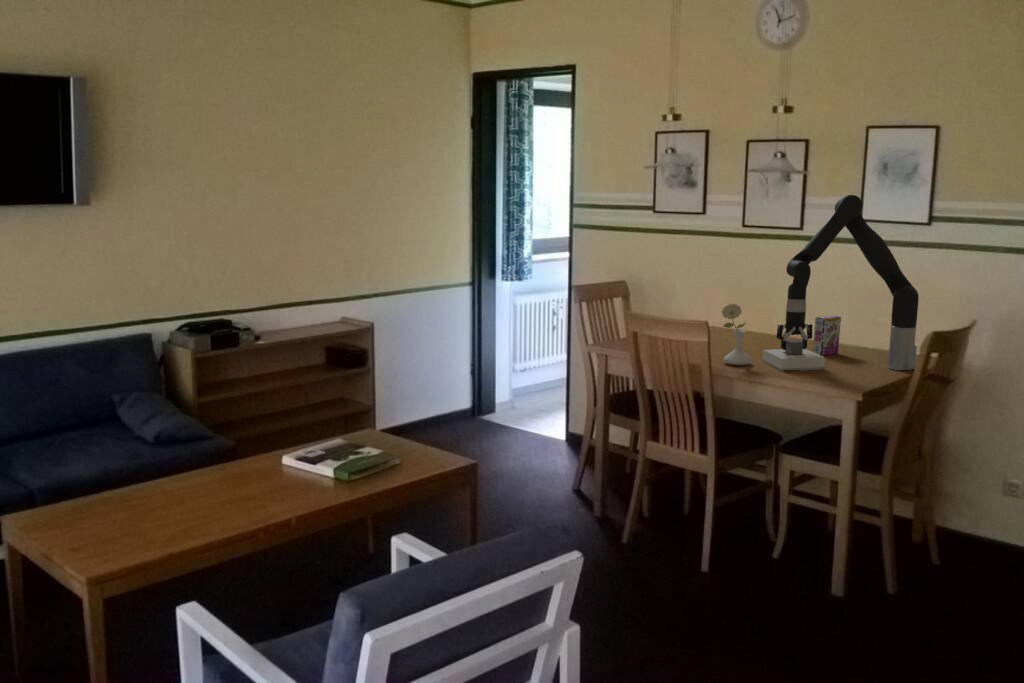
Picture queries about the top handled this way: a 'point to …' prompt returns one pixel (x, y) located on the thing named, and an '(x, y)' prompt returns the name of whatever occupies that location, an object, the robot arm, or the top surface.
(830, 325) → the candy bar box
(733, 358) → the flower in vase
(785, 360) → the socket
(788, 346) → the plug
